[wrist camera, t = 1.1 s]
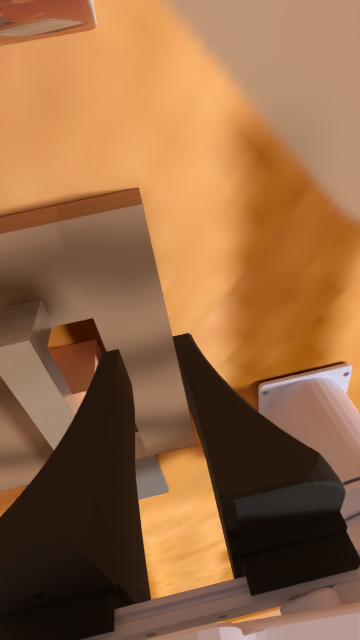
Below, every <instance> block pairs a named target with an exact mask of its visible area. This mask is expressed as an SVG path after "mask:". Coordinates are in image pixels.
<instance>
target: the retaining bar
mask: <svg viewBox="0 0 360 640" xmlns="http://www.w3.org/2000/svg"><path fill="white" fill-rule="evenodd" d="M52 323H53V322H52V320H51V318H50V316H49V314H48V312H47V310H46V308H45V306H44V304H43V302H42V300H36V301H31V302H27V303H22V304H18V305H13V306H9V307H4V308H1V311H0V376H1V377H2V379H3V380H4V381H5V383H6V384H7V386H8V387H9V388H10V390H11V391H12V393H13V394H14V395H15V397H16V398H17V399H18V401H19V402H20V404H21V405H22V406H23V408H24V409H25V411H26V412H27V413H28V415H29V416H30V418H31V419H32V420H33V422H34V423H35V425H36V426H37V427H38V429H39V430H40V431H41V433H42V434H43V436H44V437H45V438H46V440H47V441H48V443H49V444H50V445H51V447H52V448H53V450H55V448H56V447H57V445H58V444H59V442H60V440H61V439H62V437H63V436H64V434H65V432H66V431H67V429H68V427H69V425H70V424H71V422H72V420H73V418H74V416H75V414H76V412H77V410H78V408H79V404H78V403H77V401H76V399H75V397H74V395H73V394H72V392H71V390H70V388H69V386H68V384H67V383H66V381H65V379H64V377H63V375H62V373H61V372H60V370H59V368H58V366H57V364H56V363H55V361H54V359H53V357H52V355H51V353H50V352H49V350H48V348H47V346H48V341H49V337H50V332H51V328H52Z"/></svg>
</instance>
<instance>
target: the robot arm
mask: <svg viewBox="0 0 360 640" xmlns="http://www.w3.org/2000/svg"><path fill="white" fill-rule="evenodd" d="M173 342H174V346H175V351H176V355H177V360H178V364H179V369H180V373H181V377H182V382H183V386H184V391H185V395H186V399H187V402H188V405H189V408H190V411H191V414H192V417H193V420H194V423H195V426H196V429H197V432H198V435H199V438H200V441H201V444H202V447H203V450H204V454H205V457H206V461H207V466H208V470H209V474H210V478H211V482H212V487H213V491H214V495H215V499H216V504H217V508H218V512H219V517H220V521H221V525H222V529H223V534H224V538H225V542H226V546H227V551H228V555H229V559H230V564H231V568H232V572H233V577H234V579H233V580H229V581H225V582H221V583H217V584H213V585H209V586H205V587H201V588H197V589H193V590H189V591H185V592H181V593H177V594H173V595H169V596H165V597H161V598H157V599H153V600H151V596H150V589H149V582H148V575H147V567H146V560H145V552H144V544H143V537H142V529H141V520H140V511H139V502H138V492H137V482H136V469H135V405H134V397H133V389H132V383H131V381H130V378H129V375H128V373H127V370H126V367H125V364H124V362H123V359H122V356H121V354H120V351H119V349H116V350H111V351H107V352H103V353H102V354H101V356H100V359H99V362H98V365H97V368H96V370H95V373H94V375H93V378H92V380H91V383H90V385H89V387H88V389H87V392H86V394H85V396H84V398H83V401H82V403H81V405H80V406H79V408H78V410H77V412H76V414H75V416H74V418H73V420H72V422H71V424H70V425H69V427H68V429H67V431H66V432H65V434H64V436H63V437H62V439H61V440H60V442H59V444H58V445H57V447H56V448H55V450H54V451H53V452H52V454H51V455H50V457H49V458H48V460H47V461H46V463H45V464H44V465H43V467H42V468H41V469H40V471H39V472H38V473H37V475H36V476H35V477H34V478H33V480H32V481H31V482H30V483H29V485H28V486H27V487H26V488H25V490H24V491H23V492H22V493H21V495H20V496H19V497H18V498H17V499H16V501H15V502H14V503H13V504H12V505H11V506H10V507H9V508H8V509H7V511H6V512H5V513H4V514H3V515H2V516H1V517H0V640H360V413H359V411H358V410H357V408H356V407H355V406H354V404H353V403H352V401H351V400H350V399H349V397H348V396H347V390H348V386H349V382H350V377H351V373H352V369H353V367H352V366H351V365H350V363H344V364H340V365H335V366H331V367H327V368H323V369H318V370H314V371H310V372H305V373H301V374H297V375H293V376H288V377H284V378H280V379H275V380H271V381H267V382H263V383H261V384H260V385H259V386H258V411H257V410H256V409H254V408H253V407H252V406H251V405H250V404H249V403H247V402H246V401H245V400H244V399H243V398H242V397H241V396H240V395H238V394H237V393H236V392H235V391H234V390H233V389H232V388H231V387H230V386H229V385H228V384H227V382H226V381H225V380H224V379H223V378H222V377H221V376H220V375H219V374H218V373H217V372H216V370H215V369H214V368H213V367H212V365H211V364H210V363H209V362H208V360H207V359H206V358H205V357H204V355H203V354H202V352H201V351H200V349H199V348H198V346H197V345H196V343H195V341H194V340H193V338H192V335H191V334H189V333H186V334H182V335H178V336H173ZM278 606H281V609H280V611H281V614H282V615H280V616H274V617H268V618H263V619H257V620H251V621H245V622H239V623H234V624H233V623H231V622H229V623H215V622H219V621H223V620H227V619H231V618H235V617H239V616H243V615H247V614H251V613H255V612H258V611H262V610H266V609H270V608H274V607H278ZM212 623H213V624H212Z"/></svg>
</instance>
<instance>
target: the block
mask: <svg viewBox="0 0 360 640" xmlns="http://www.w3.org/2000/svg"><path fill="white" fill-rule="evenodd" d="M49 352H50V353H51V355H52V357H53V359H54V361H55V363H56V364H57V366H58V368H59V370H60V372H61V373H62V375H63V377H64V379H65V381H66V383H67V384H68V386H69V388H70V390H71V392H72V394H73V395H74V397H75V399H76V401H77V403H78V404H79V406H80V405H81V403H82V401H83V398H84V396H85V394H86V392H87V389H88V387H89V385H90V383H91V380H92V378H93V375H94V373H95V370H96V368H97V365H98V362H99V359H100V356H101V354H102V352H101V349H100V347H99V345H98V342H97V340H96V339H95V340H90V341H86V342H81V343H77V344H72V345H68V346H64V347H59V348H55V349H50V350H49Z"/></svg>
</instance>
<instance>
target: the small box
mask: <svg viewBox="0 0 360 640" xmlns="http://www.w3.org/2000/svg"><path fill="white" fill-rule="evenodd" d="M96 27H97V21H96V15H95V10H94V4H93V0H0V45H4V44H10V43H16V42H23V41H29V40H35V39H41V38H47V37H53V36H59V35H65V34H71V33H77V32H83V31H89V30H93V29H95V28H96Z"/></svg>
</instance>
